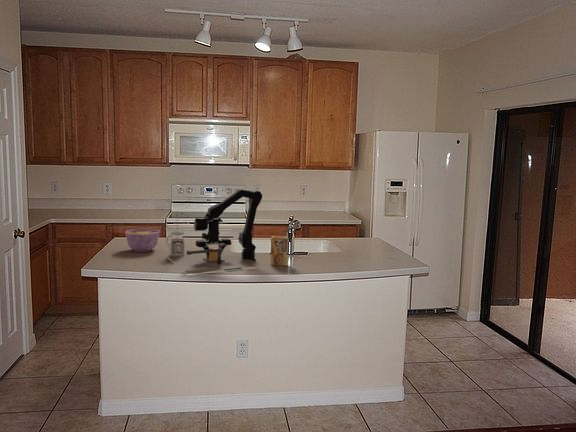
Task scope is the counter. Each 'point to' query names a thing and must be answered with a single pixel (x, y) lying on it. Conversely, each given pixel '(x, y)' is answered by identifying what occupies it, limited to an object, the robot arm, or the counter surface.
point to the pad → (233, 269)
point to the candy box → (278, 250)
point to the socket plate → (215, 262)
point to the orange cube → (213, 256)
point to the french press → (173, 244)
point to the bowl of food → (142, 239)
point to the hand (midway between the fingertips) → (213, 258)
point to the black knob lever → (207, 252)
